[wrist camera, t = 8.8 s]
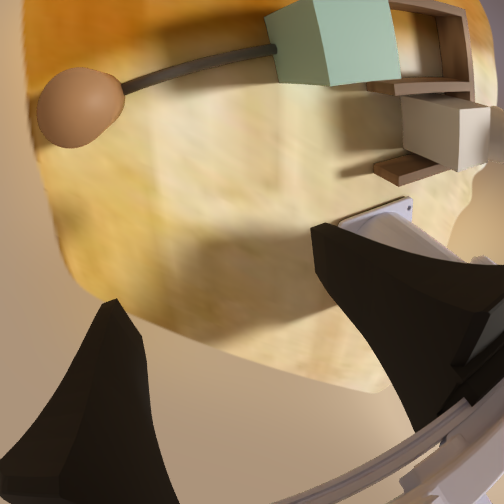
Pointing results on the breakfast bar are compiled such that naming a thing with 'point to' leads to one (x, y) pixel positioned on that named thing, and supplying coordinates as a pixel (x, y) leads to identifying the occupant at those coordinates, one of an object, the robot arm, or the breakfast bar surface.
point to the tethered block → (281, 47)
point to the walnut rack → (430, 82)
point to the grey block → (446, 129)
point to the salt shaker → (496, 135)
